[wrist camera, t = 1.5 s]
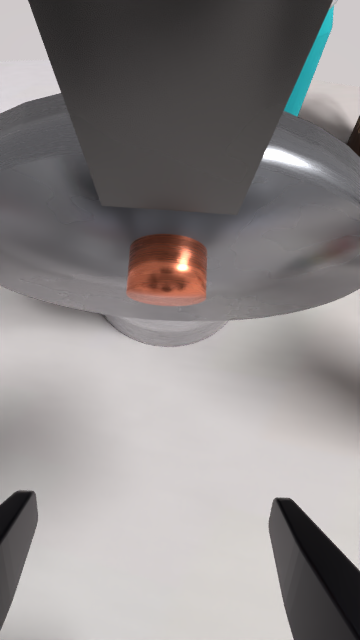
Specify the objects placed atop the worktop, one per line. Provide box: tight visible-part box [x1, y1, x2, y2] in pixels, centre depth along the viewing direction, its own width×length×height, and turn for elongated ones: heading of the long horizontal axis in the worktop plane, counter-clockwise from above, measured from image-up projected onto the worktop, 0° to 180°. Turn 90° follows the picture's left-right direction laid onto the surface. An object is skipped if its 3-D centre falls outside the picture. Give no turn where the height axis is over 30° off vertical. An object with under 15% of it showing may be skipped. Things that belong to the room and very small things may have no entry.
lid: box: [0, 0, 360, 321], centre depth 9 cm, size 16×13×2 cm
